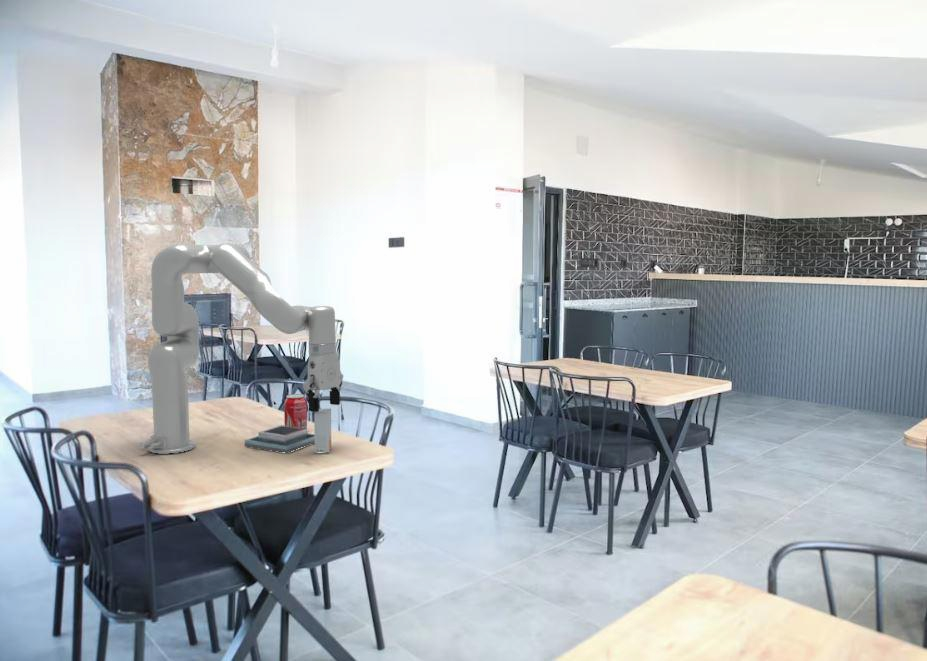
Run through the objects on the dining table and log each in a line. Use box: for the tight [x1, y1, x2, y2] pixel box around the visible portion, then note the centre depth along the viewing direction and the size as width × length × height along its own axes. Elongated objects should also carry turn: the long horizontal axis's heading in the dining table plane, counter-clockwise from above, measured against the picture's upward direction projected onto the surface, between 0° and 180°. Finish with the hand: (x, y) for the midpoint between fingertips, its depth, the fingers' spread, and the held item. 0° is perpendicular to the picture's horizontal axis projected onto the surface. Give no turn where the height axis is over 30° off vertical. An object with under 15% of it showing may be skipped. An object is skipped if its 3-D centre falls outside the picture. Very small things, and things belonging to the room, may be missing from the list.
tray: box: [244, 424, 315, 454], centre depth 202 cm, size 15×16×4 cm
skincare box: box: [313, 408, 332, 453], centre depth 196 cm, size 6×4×12 cm
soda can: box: [283, 393, 308, 430], centre depth 216 cm, size 7×7×12 cm
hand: (324, 407), depth 195 cm, fingers open, 9 cm apart
